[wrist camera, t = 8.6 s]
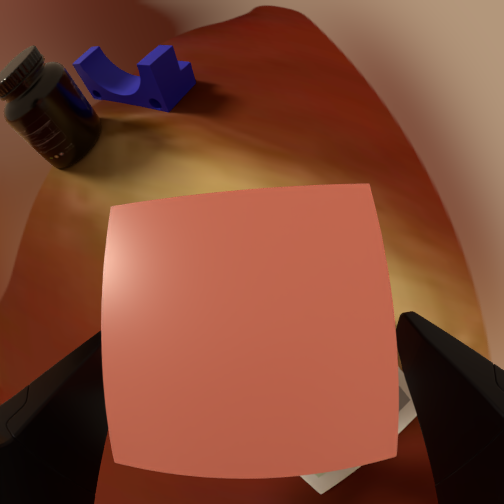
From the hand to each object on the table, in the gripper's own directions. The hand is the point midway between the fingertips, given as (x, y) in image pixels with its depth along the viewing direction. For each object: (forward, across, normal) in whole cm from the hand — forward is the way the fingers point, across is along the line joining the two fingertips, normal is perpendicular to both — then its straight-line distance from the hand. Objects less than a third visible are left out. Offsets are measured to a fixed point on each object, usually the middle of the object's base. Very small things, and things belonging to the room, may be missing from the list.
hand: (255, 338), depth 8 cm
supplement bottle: (+19, +18, -7) cm, 27 cm away
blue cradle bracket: (+24, +11, -11) cm, 28 cm away
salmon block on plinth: (+6, 0, +6) cm, 8 cm away
